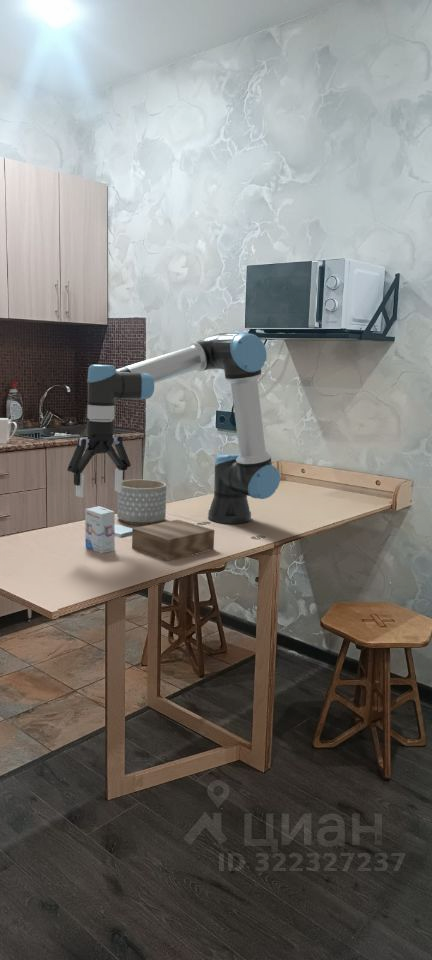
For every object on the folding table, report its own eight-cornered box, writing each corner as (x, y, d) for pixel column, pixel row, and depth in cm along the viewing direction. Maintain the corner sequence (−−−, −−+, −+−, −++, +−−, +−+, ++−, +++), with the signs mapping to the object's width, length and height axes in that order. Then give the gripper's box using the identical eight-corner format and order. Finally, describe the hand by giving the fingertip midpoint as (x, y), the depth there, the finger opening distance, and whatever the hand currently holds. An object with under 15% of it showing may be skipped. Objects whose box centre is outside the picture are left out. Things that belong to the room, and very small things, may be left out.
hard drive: (139, 529, 223) (112, 522, 231) (121, 534, 217) (93, 526, 224) (139, 534, 224) (112, 527, 231) (121, 539, 217) (93, 531, 225)
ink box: (84, 547, 205) (84, 507, 203) (98, 544, 209) (98, 505, 207) (101, 553, 199) (101, 513, 197) (115, 550, 203) (115, 511, 201)
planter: (112, 515, 245) (113, 480, 243) (157, 513, 251) (158, 478, 248) (123, 527, 230) (124, 489, 228) (171, 524, 236) (172, 487, 233)
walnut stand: (177, 538, 219) (177, 519, 218) (213, 549, 208) (214, 530, 207) (132, 547, 206) (132, 528, 205) (168, 560, 195) (168, 539, 194)
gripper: (127, 417, 209) (125, 487, 212) (55, 420, 191) (54, 496, 195) (143, 420, 203) (141, 491, 207) (70, 423, 186) (69, 501, 190)
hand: (99, 494), depth 201 cm, fingers open, 13 cm apart
